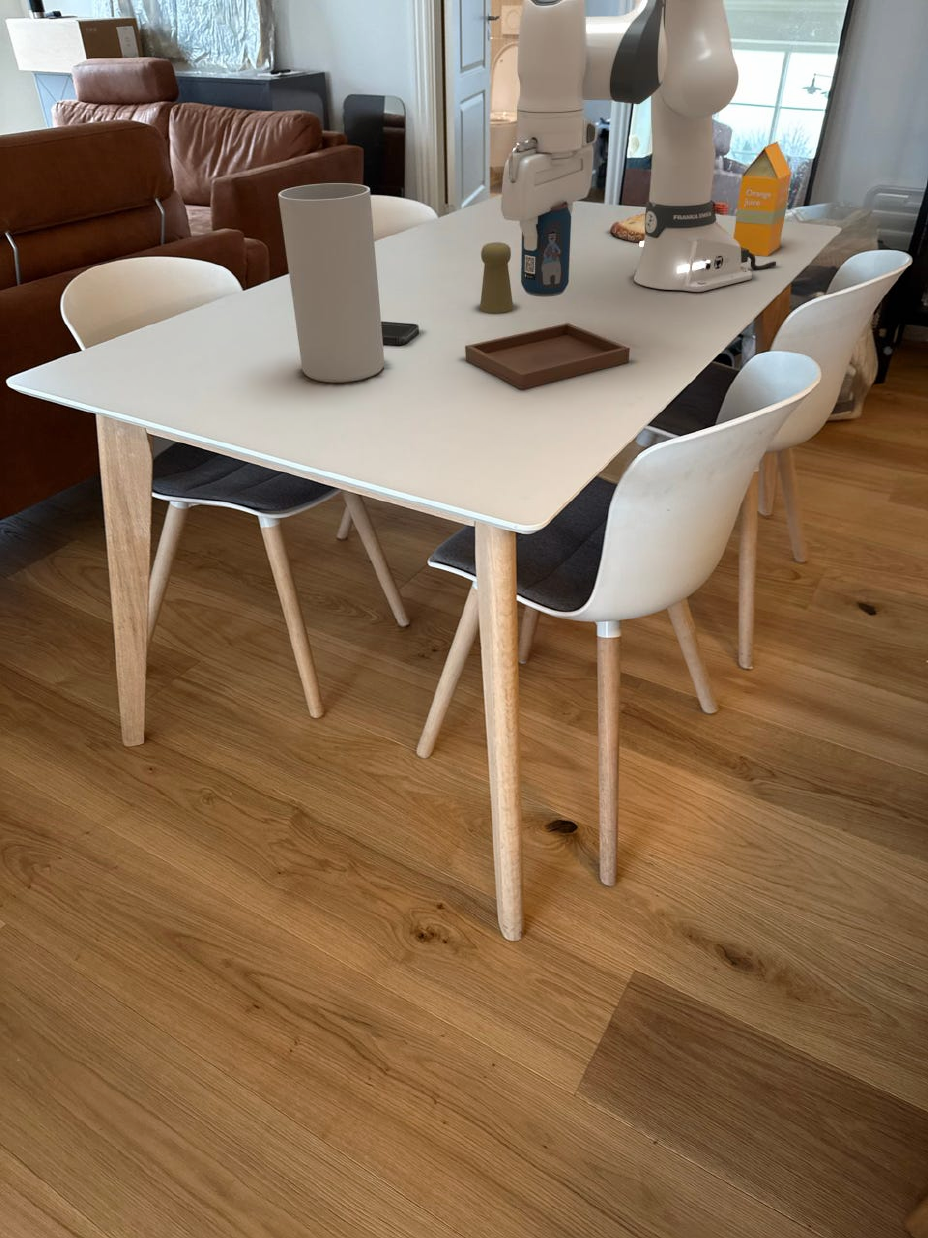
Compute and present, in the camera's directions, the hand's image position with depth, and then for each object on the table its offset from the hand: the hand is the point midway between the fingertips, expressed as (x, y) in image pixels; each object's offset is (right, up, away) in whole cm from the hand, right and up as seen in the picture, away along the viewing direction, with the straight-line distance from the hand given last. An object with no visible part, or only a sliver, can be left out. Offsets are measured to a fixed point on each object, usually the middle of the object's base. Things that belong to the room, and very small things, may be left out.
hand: (546, 242), depth 129 cm
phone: (-27, -6, +22) cm, 36 cm away
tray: (+1, -14, +10) cm, 17 cm away
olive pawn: (-6, +2, +33) cm, 34 cm away
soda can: (0, -6, +4) cm, 7 cm away
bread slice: (+31, +32, +75) cm, 87 cm away
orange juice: (+50, +25, +63) cm, 84 cm away
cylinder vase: (-30, -16, +9) cm, 35 cm away
